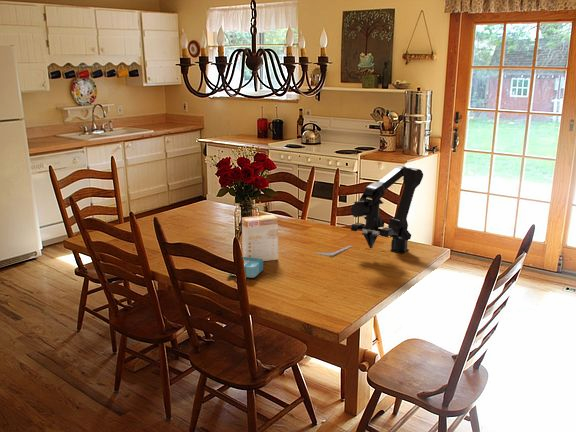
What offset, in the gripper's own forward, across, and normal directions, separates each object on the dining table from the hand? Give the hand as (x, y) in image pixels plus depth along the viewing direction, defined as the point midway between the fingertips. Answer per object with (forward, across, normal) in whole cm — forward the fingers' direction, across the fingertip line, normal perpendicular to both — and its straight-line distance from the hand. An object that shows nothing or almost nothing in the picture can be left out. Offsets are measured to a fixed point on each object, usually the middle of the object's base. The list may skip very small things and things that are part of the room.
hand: (371, 248), depth 240 cm
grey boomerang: (+5, +23, 0) cm, 24 cm away
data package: (+3, +28, +45) cm, 53 cm away
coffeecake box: (+5, +39, +31) cm, 50 cm away
